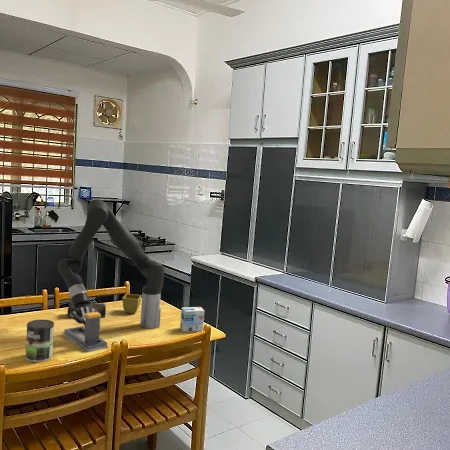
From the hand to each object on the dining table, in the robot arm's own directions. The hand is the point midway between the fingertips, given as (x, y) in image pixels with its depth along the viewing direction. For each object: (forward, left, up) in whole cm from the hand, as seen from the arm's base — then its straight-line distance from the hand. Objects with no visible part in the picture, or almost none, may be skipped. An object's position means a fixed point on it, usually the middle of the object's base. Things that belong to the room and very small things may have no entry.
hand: (89, 330), depth 202 cm
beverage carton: (-3, -40, -7) cm, 40 cm away
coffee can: (+20, +10, -7) cm, 24 cm away
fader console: (+1, -4, -6) cm, 8 cm away
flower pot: (-27, -43, -7) cm, 51 cm away
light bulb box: (-51, -11, -7) cm, 53 cm away
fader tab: (-1, +2, -5) cm, 6 cm away
